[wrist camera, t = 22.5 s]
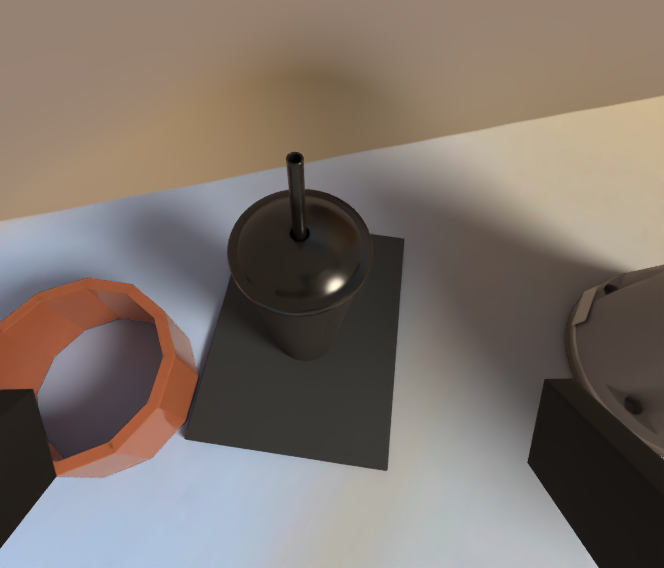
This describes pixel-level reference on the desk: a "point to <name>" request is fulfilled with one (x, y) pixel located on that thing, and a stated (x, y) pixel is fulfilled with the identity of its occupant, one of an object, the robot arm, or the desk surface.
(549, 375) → the desk surface
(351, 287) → the drinking cup
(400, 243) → the mat
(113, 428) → the desk surface
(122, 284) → the pot
